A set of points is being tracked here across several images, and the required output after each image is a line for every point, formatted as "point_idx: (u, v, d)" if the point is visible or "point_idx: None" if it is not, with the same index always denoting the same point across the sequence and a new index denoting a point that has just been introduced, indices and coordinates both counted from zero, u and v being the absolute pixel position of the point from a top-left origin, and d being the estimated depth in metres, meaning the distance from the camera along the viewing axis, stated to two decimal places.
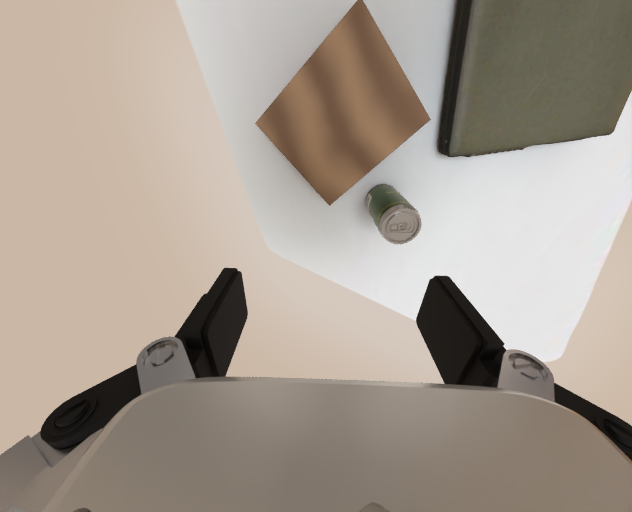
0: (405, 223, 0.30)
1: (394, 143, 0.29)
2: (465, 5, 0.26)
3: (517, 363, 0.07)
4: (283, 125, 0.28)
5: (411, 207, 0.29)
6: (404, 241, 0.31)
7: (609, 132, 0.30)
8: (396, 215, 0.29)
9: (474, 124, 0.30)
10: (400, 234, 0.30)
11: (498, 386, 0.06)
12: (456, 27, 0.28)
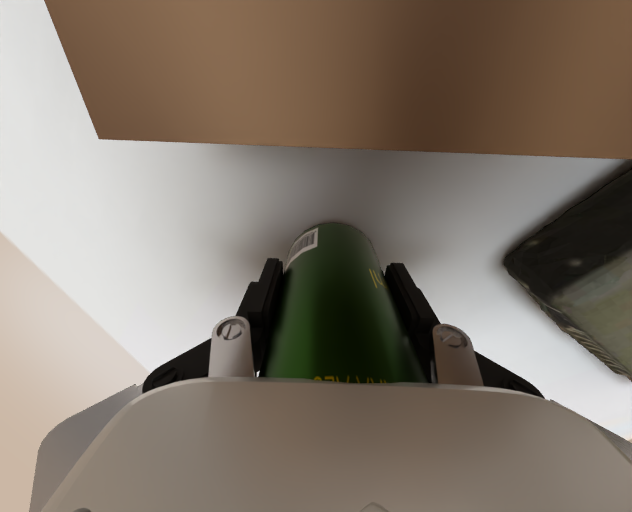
0: None
1: (618, 124, 0.05)
2: None
3: (444, 336, 0.08)
4: None
5: None
6: None
7: None
8: None
9: None
10: None
11: (436, 365, 0.07)
12: None
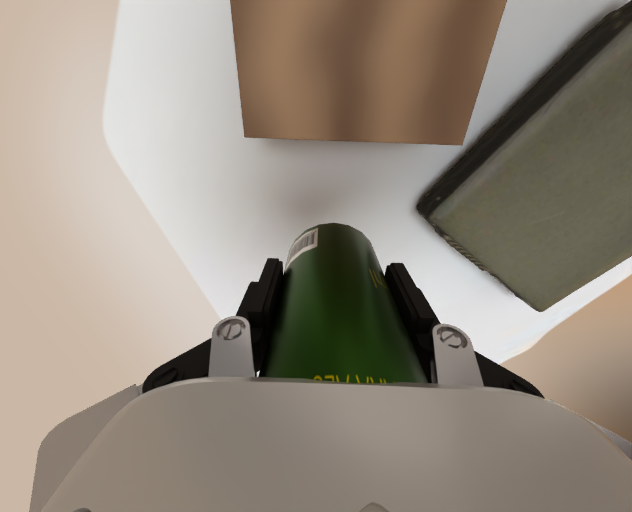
0: None
1: (401, 132, 0.17)
2: (580, 56, 0.18)
3: (444, 336, 0.08)
4: None
5: None
6: None
7: (541, 310, 0.28)
8: None
9: (478, 204, 0.22)
10: None
11: (436, 365, 0.07)
12: (546, 78, 0.20)
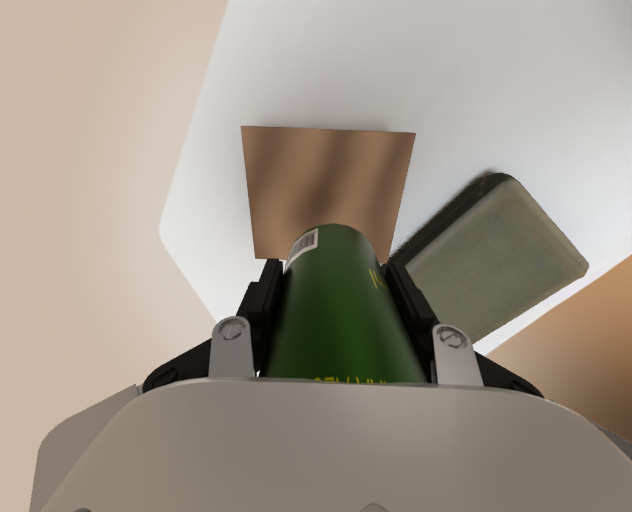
0: None
1: None
2: (463, 205, 0.29)
3: (444, 336, 0.08)
4: (268, 156, 0.22)
5: None
6: None
7: None
8: None
9: None
10: None
11: (436, 365, 0.07)
12: (447, 210, 0.30)
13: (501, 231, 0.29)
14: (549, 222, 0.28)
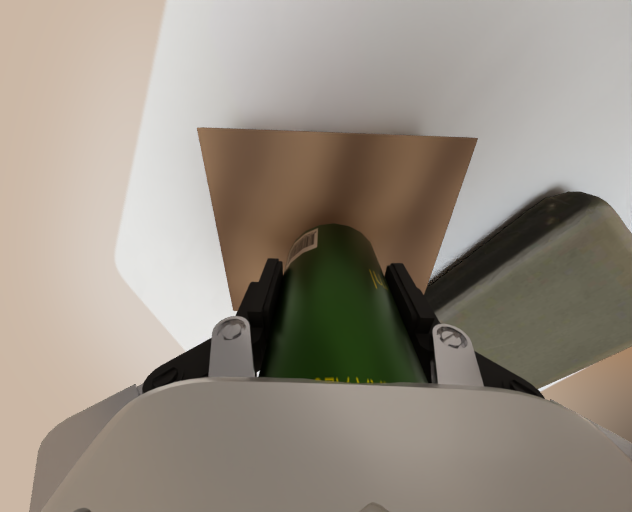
0: None
1: None
2: (522, 236, 0.21)
3: (444, 336, 0.08)
4: (244, 175, 0.14)
5: None
6: None
7: None
8: None
9: None
10: None
11: (436, 365, 0.07)
12: (496, 241, 0.22)
13: (575, 273, 0.21)
14: None
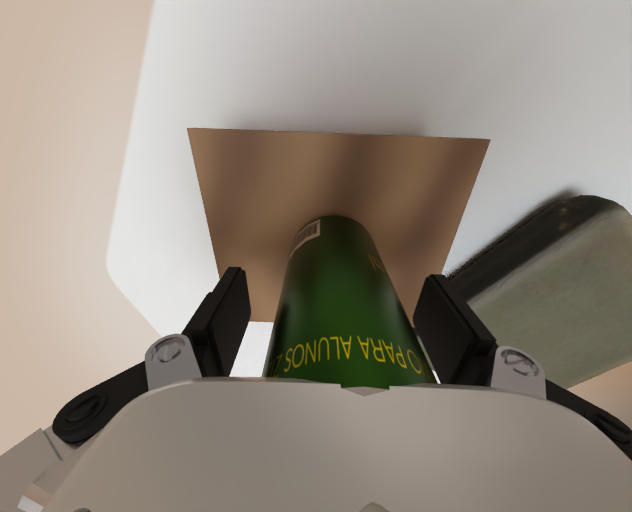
0: None
1: None
2: (531, 241, 0.20)
3: (509, 359, 0.07)
4: (238, 178, 0.13)
5: None
6: None
7: None
8: None
9: None
10: None
11: (491, 383, 0.06)
12: (504, 246, 0.21)
13: (587, 280, 0.20)
14: None
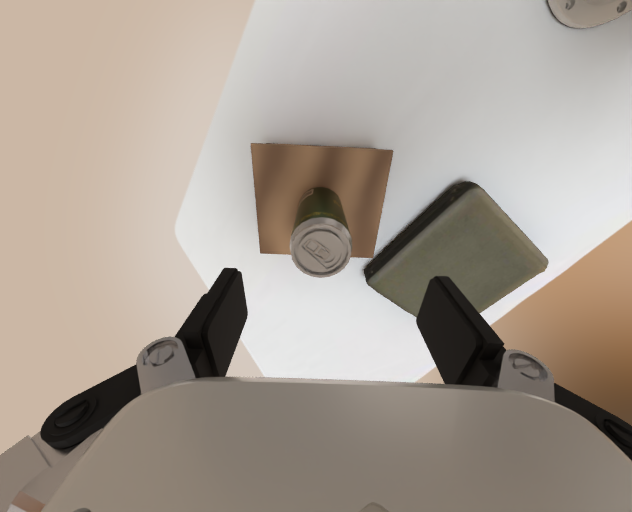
0: (328, 251, 0.19)
1: None
2: (438, 209, 0.34)
3: (517, 363, 0.07)
4: (273, 168, 0.27)
5: (350, 238, 0.19)
6: (310, 273, 0.20)
7: None
8: (326, 232, 0.18)
9: (392, 277, 0.38)
10: (312, 260, 0.19)
11: (498, 386, 0.06)
12: (426, 213, 0.35)
13: (470, 231, 0.34)
14: (511, 224, 0.33)
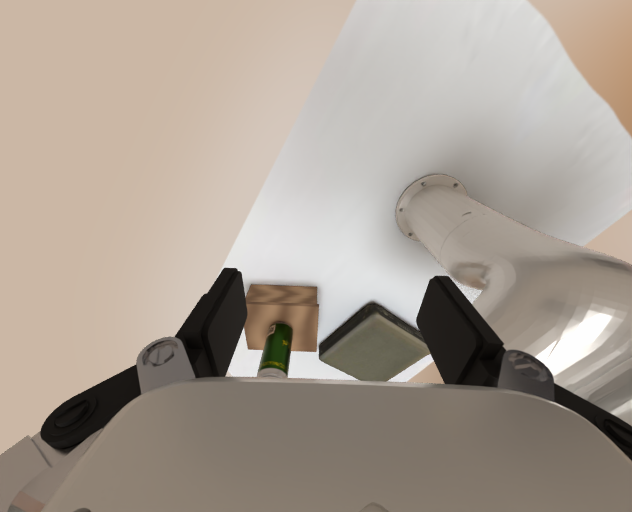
0: None
1: (296, 349, 0.54)
2: (357, 320, 0.54)
3: (517, 363, 0.07)
4: (253, 313, 0.48)
5: (285, 375, 0.40)
6: None
7: None
8: (272, 376, 0.39)
9: (334, 356, 0.59)
10: None
11: (498, 386, 0.06)
12: (352, 319, 0.56)
13: (377, 334, 0.54)
14: (401, 331, 0.54)
